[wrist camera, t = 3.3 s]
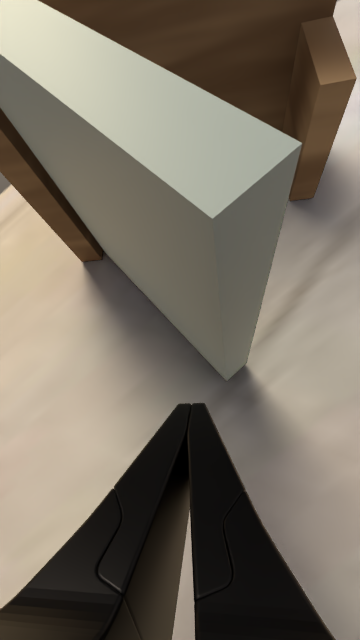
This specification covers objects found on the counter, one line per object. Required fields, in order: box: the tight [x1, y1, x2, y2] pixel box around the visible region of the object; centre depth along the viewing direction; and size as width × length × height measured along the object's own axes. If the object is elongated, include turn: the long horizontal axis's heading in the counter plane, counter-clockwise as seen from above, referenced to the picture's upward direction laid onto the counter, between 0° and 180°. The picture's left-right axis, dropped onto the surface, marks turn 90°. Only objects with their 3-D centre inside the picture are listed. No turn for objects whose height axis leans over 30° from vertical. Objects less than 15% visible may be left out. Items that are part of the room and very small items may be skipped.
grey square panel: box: [0, 0, 302, 381], centre depth 12 cm, size 2×13×13 cm, turn 41°
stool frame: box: [0, 0, 357, 262], centre depth 15 cm, size 10×16×13 cm, turn 91°
